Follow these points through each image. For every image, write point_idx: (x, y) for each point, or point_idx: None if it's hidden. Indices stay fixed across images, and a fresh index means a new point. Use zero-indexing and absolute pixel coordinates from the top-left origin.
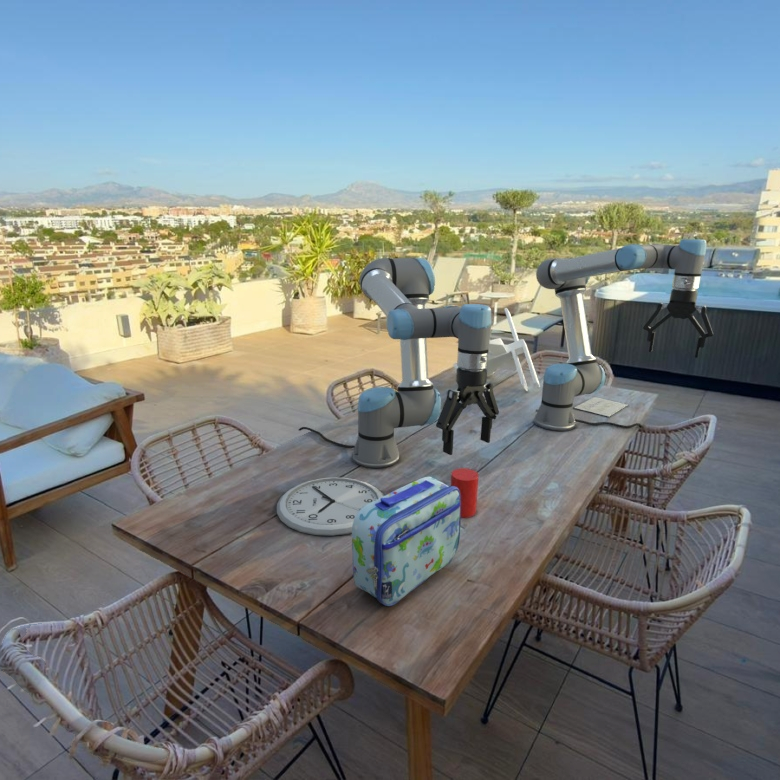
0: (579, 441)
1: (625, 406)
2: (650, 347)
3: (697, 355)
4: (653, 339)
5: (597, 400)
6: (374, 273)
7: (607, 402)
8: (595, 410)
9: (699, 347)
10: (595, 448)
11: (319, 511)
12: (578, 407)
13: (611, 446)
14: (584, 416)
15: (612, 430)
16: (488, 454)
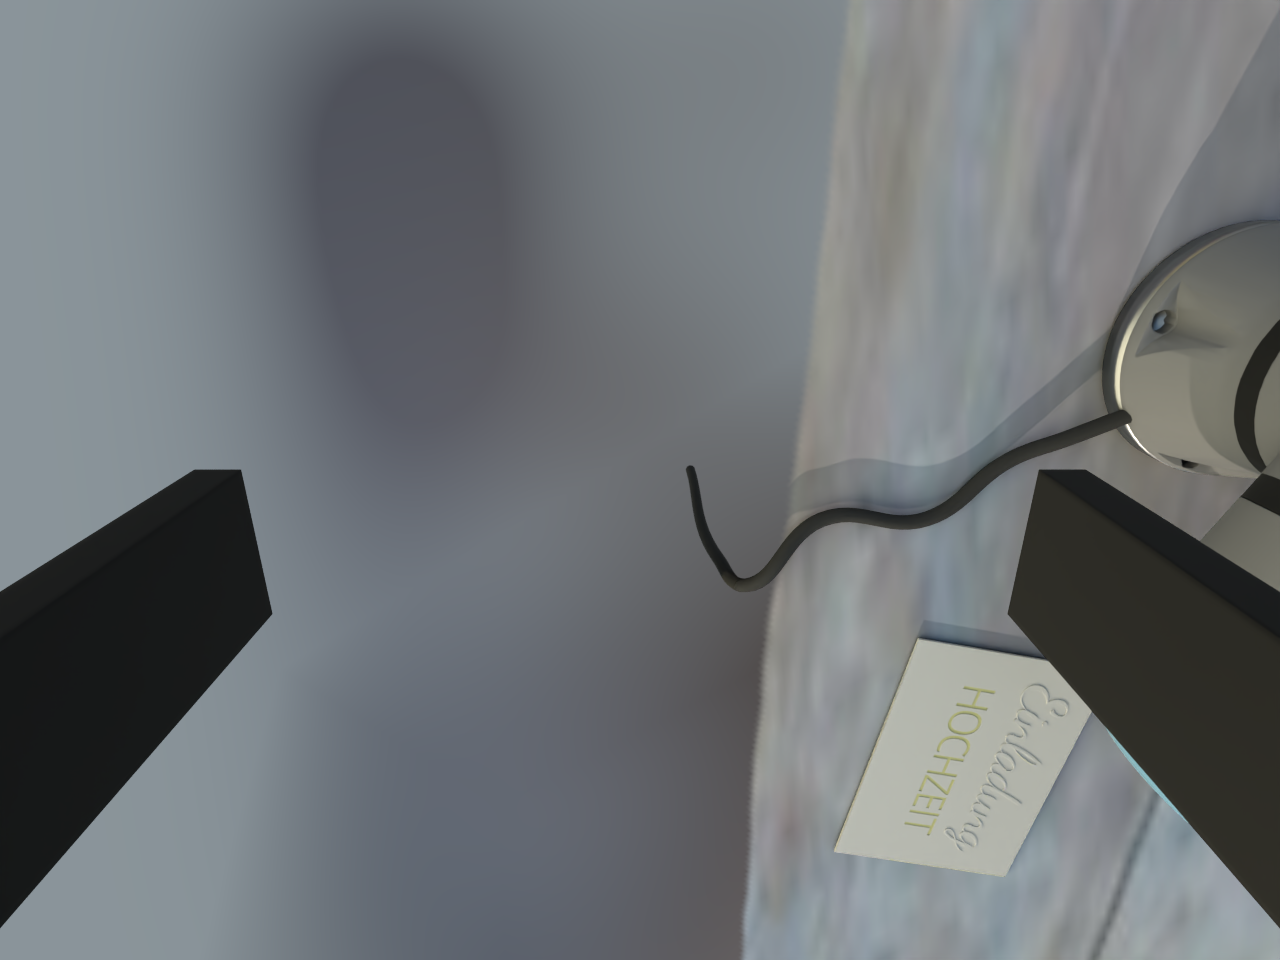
0: (1066, 134)
1: (845, 822)
2: (1126, 507)
3: (172, 485)
4: (1233, 636)
5: (988, 835)
6: None
7: (936, 832)
8: (993, 688)
9: (30, 574)
10: (965, 68)
11: None
12: None
13: (874, 170)
14: None
15: (885, 446)
16: None
